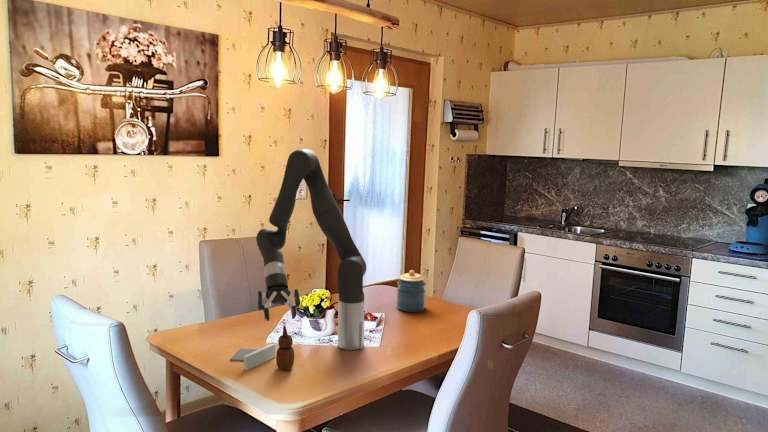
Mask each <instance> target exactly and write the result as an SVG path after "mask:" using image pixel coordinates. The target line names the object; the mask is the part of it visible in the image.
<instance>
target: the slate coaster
mask: <svg viewBox="0 0 768 432" xmlns="http://www.w3.org/2000/svg"><path fill="white" fill-rule="evenodd" d="M259 349H260V348H259ZM259 349H258V348H255V349H254V348H242V347H241V348H239V349H238V350H237V351H236V352H235V353H234V354H233V355H232V356H231V357H230V358H229V361H232V362H234V361H235V362H244V356H245V355H248V354H250V353H252V352H254V351H257V350H259Z"/></svg>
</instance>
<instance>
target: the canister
mask: <svg viewBox="0 0 768 432" xmlns="http://www.w3.org/2000/svg"><path fill="white" fill-rule="evenodd" d="M408 271H409V272H407V273H403V274H402V275H400V276H399V277H398V280H397V282H396V283H397V288H396V291H397V292H396V293H397V294H396V308H397V310H399V311H402V312H406V313H407V312H408V313H417V312H423V311H424V310H425V307H426V288H425V286H426V284H427V283H426V282H425V278H424V276H422V275H421V274H420V273H416V272H415V270H414V269H410V270H408Z"/></svg>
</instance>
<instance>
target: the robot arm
mask: <svg viewBox="0 0 768 432" xmlns="http://www.w3.org/2000/svg"><path fill="white" fill-rule="evenodd" d="M303 180H304V182H305V184H306V187H307V189H308V193H309V197H310V204H311V210H312V213H313V215H314V217H315V220H316V222H317V224H318V226H319V228H320V230H321V231H322V233H323V234H324V236H325V237H326V238H327V240H329V242H330V243H331V245H333V247H334V249H335V251H336V253H337V256H338V257H339V258H338V259H339V261H340V263H339V264H338V268H337V273H336V276H337V278H336V280H337V281H336V282H337V294H338V313H337V315H338V322H337V324H338V325H337V346H338V348H340V349H341V350H346V351H355V350H362V349H363V347H364V344H365V293H364V275H365V274H366V272H367V264H366V261H365V259H364V257H363V256H362V254H361V253H360V251H359V249H358V247H357V245H356V243H355V242H354V240H353V237H352V235H351V233H350V231H349V228H348V225H347V223H346V220H345V218H344V216H343V213H342V212H341V209H340V207H339V205H338V203H337V201H336V199H335V197H334V195H333V192H332V190H331V188H330V187H329V185H328V183H327V179H326V177H325V175H324V172H323V170H322V166H321V163H320V160H319V158H318V156H317V154H316V153H315V152H314V151H313V150H311V149H308V148H302V149H295V150H294V151H292V152H291V153H290V154H289V155H288V158H287V161H286V166H285V170H284V174H283V178H282V182H281V187H280V190H279V193H278V196H277V198H276V199H275V200H276V201H275V202H274V205H273V208H272V210H271V213H270V216H269V218H268V221H269V224H271V225H272V226H274V227H276V228H277V229H276V230H273V229H270V228H261V229H260V230H258V232H257V234H256V246H257V247H258V251H259V252H260V255H261V257H262V259H263V265H264V266H263V267H264V282H265V290H266V291H265V292H262V291H261V290H260V291H258V292H257V310H258V311H263V314H264V315H263V318H264V320H266V322H269V321H270V309H269V308H270V307H271V306H272V305H284V304H285V306H287V307H289V308H290V313H291V319H292V320H294V319H295V318H296V317H297V308H300V305H301V299H300V294H299V289H297V288H296V289H294V290H290V289H289V284H288V277H287V270H286V266H285V260H284V255H283V252H282V251H281V250H282V249H283V248H284V247H285V245H286V240H287V230H288V225H289V222H290V219H291V217H292V215H293V213H294V211H295V210H294V209H295V205H296V199H297V193H298V190H299V187H300V185H301V183H302V181H303ZM290 296H292V298H294V301H293V300H292V298H291V297H290ZM265 298H266V299H267V301H266V303H265V304H263V300H264V299H265Z"/></svg>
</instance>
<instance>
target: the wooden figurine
mask: <svg viewBox="0 0 768 432" xmlns="http://www.w3.org/2000/svg"><path fill="white" fill-rule="evenodd" d="M282 326H283V327H282V335H280V336H279V337H278V340H277V342H278V348H277V349H276V352H275V359H276V360H275V361H276V362H275V363H276V366H277V369H278V370H279V371H282V372H288V371H291V370H292V368H293V367H294V363H295V362H294V361H295V349H294V347H292V345H293V343H294V341H293V340H294V339H293V336H291V335H290V334H289V333H288V329H287V327H286V325H285V322H283V325H282Z"/></svg>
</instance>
